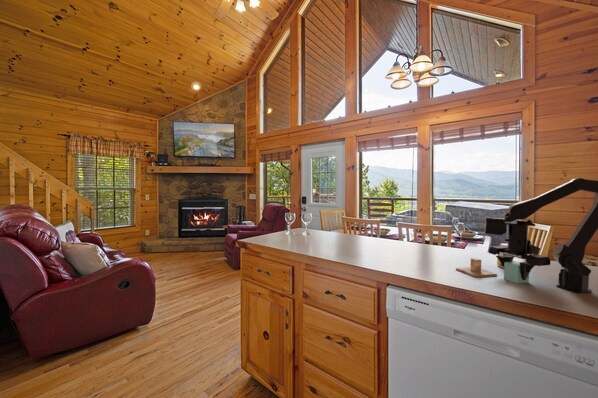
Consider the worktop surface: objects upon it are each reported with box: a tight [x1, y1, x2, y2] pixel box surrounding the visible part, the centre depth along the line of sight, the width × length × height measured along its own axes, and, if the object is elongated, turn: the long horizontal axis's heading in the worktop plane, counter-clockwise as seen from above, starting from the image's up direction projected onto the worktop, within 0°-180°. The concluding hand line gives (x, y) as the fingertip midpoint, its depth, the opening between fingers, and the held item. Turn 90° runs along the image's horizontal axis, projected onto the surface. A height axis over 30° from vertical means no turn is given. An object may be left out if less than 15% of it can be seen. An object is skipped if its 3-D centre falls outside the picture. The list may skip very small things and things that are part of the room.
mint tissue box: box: [503, 260, 530, 285], centre depth 100 cm, size 5×5×7 cm
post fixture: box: [455, 257, 498, 278], centre depth 109 cm, size 10×10×6 cm
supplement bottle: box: [496, 243, 514, 269], centre depth 117 cm, size 6×6×10 cm
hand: (516, 277), depth 100 cm, fingers closed on mint tissue box, 5 cm apart
